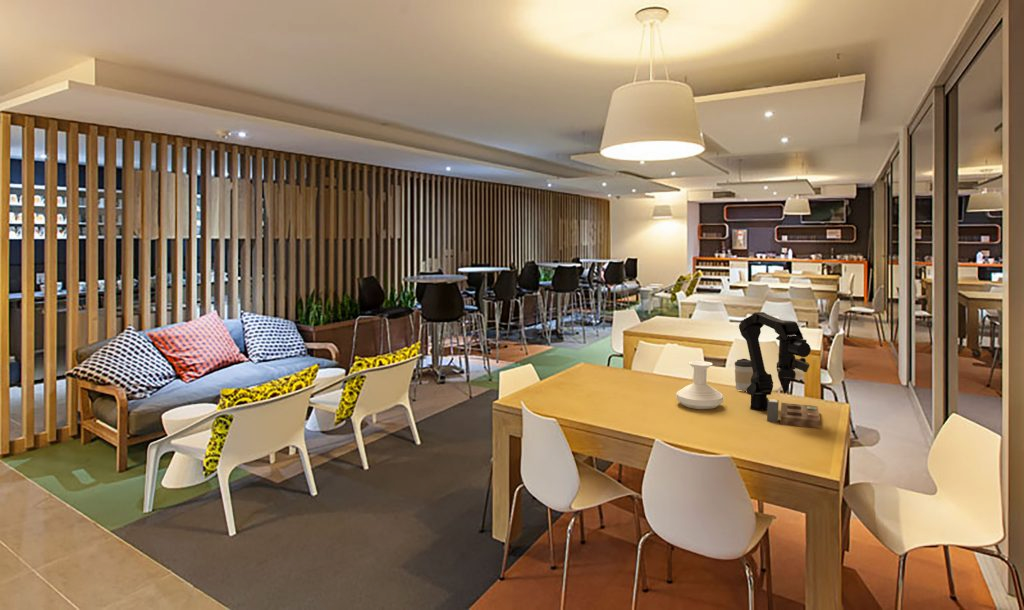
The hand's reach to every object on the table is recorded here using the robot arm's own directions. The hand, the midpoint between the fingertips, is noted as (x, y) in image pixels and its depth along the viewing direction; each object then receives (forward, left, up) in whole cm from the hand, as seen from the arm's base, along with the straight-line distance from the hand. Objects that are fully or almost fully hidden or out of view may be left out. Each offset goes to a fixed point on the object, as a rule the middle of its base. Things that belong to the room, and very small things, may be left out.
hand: (784, 390), depth 240 cm
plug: (-4, -3, -12) cm, 13 cm away
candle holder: (-34, +7, -13) cm, 37 cm away
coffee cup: (-18, +43, -13) cm, 48 cm away
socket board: (+6, +4, -12) cm, 14 cm away
